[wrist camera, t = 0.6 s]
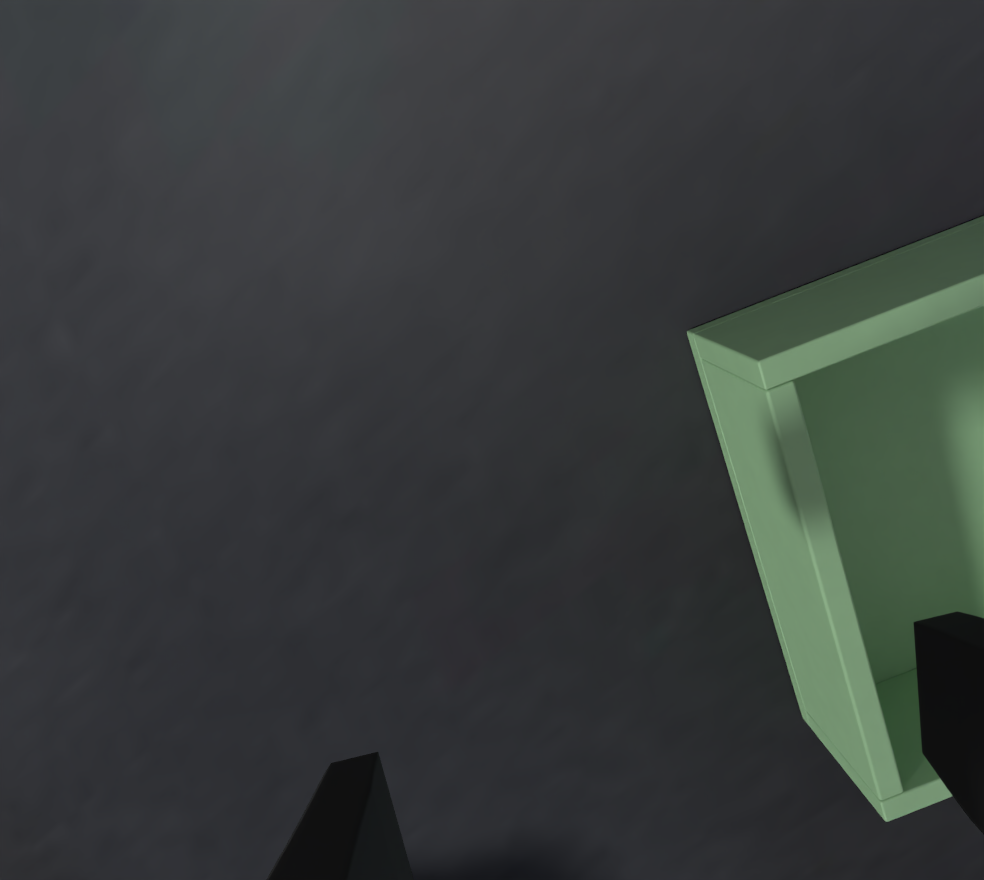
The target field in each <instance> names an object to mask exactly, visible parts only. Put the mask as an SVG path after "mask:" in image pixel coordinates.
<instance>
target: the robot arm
mask: <svg viewBox="0 0 984 880" xmlns="http://www.w3.org/2000/svg"><path fill="white" fill-rule="evenodd" d="M913 623H914V638H915V653H916V668H917V683H918V698H919V713H920V728H921V742H922V753H923V755H924V756H925V757H926V759H927V760H928V762H929V763H930V765H931V766H932V767H933V769H934V770H935V772H936V773H937V775H938V776H939V777H940V779H941V780H942V782H943V783H944V784H945V786H946V787H947V789H948V790H949V791H950V793H951V794H952V795H953V797H954V798H955V799H956V801H957V802H958V803H959V805H960V806H961V807H962V809H963V810H964V811H965V813H966V814H967V815H968V817H969V818H970V819H971V821H972V822H973V823H974V824H975V825H976V826H977V827H978V828H979V830H980V831H981V832H982V833H983V834H984V618H981V617H978V616H974V615H970V614H966V613H962V612H958V611H957V612H953V613H949V614H944V615H940V616H936V617H932V618H928V619H924V620H920V621H916V622H913ZM267 880H414V879H413V876H412V872H411V868H410V865H409V861H408V858H407V854H406V851H405V847H404V843H403V840H402V836H401V833H400V829H399V825H398V822H397V818H396V815H395V811H394V807H393V804H392V800H391V797H390V793H389V789H388V786H387V782H386V779H385V775H384V772H383V768H382V764H381V761H380V757H379V754H378V752H375V753H371V754H367V755H363V756H359V757H355V758H351V759H347V760H342V761H338V762H334V763H331V764H330V766H329V767H328V769H327V770H326V772H325V773H324V775H323V777H322V779H321V781H320V783H319V785H318V787H317V789H316V791H315V793H314V794H313V796H312V798H311V800H310V802H309V804H308V806H307V808H306V810H305V812H304V814H303V815H302V817H301V819H300V821H299V823H298V825H297V827H296V828H295V830H294V832H293V834H292V836H291V838H290V839H289V841H288V843H287V845H286V847H285V848H284V850H283V852H282V854H281V855H280V857H279V859H278V861H277V862H276V864H275V866H274V867H273V869H272V871H271V873H270V874H269V876H268V878H267Z"/></svg>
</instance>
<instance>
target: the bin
mask: <svg viewBox="0 0 984 880" xmlns="http://www.w3.org/2000/svg"><path fill="white" fill-rule="evenodd" d="M687 335H688V339H689V342H690V345H691V349H692V352H693V355H694V359H695V362H696V365H697V369H698V372H699V375H700V379H701V382H702V385H703V389H704V392H705V395H706V399H707V402H708V405H709V409H710V412H711V415H712V419H713V422H714V425H715V428H716V432H717V435H718V438H719V442H720V445H721V448H722V452H723V455H724V458H725V462H726V465H727V468H728V472H729V475H730V478H731V482H732V485H733V488H734V492H735V495H736V498H737V502H738V505H739V508H740V512H741V515H742V518H743V521H744V525H745V528H746V531H747V535H748V538H749V541H750V545H751V548H752V551H753V555H754V558H755V561H756V565H757V568H758V571H759V575H760V578H761V581H762V585H763V588H764V591H765V595H766V598H767V601H768V605H769V608H770V611H771V614H772V618H773V621H774V624H775V628H776V631H777V634H778V638H779V641H780V644H781V648H782V651H783V654H784V658H785V661H786V664H787V668H788V671H789V674H790V678H791V681H792V684H793V688H794V691H795V694H796V697H797V701H798V704H799V707H800V711H801V714H802V717H803V719H804V720H805V721H806V723H807V724H808V725H809V726H810V727H811V729H812V730H813V731H814V733H815V734H816V735H817V736H818V738H819V739H820V740H821V741H822V743H823V744H824V745H825V746H826V748H827V749H828V750H829V751H830V753H831V754H832V755H833V756H834V758H835V759H836V760H837V761H838V763H839V764H840V765H841V766H842V768H843V769H844V770H845V771H846V773H847V774H848V775H849V776H850V778H851V779H852V780H853V781H854V783H855V784H856V785H857V786H858V788H859V789H860V790H861V791H862V793H863V794H864V795H865V796H866V798H867V799H868V800H869V801H870V803H871V804H872V805H873V806H874V808H875V809H876V810H877V811H878V813H879V814H880V815H881V816H882V818H883V819H884V820H885V821H886V822H888V821H891V820H894V819H896V818H899V817H901V816H904V815H906V814H909V813H911V812H914V811H916V810H919V809H921V808H924V807H926V806H929V805H932V804H934V803H937V802H939V801H942V800H944V799H947V798H949V797H952V796H953V795H952V794H951V793H950V791H949V790H948V789H947V787H946V786H945V784H944V783H943V782H942V780H941V779H940V777H939V776H938V775H937V773H936V772H935V770H934V769H933V767H932V766H931V765H930V763H929V762H928V760H927V759H926V757H925V756H924V755H923V753H922V742H921V728H920V713H919V698H918V683H917V668H916V653H915V638H914V623H913V622H916V621H920V620H924V619H928V618H932V617H936V616H940V615H944V614H949V613H953V612H957V611H958V612H962V613H966V614H970V615H974V616H978V617H981V618H984V216H982V217H979V218H977V219H974V220H971V221H969V222H966V223H964V224H961V225H959V226H956V227H953V228H951V229H948V230H946V231H943V232H941V233H938V234H935V235H933V236H930V237H928V238H925V239H923V240H920V241H917V242H915V243H912V244H910V245H907V246H905V247H902V248H899V249H897V250H894V251H892V252H889V253H886V254H884V255H881V256H879V257H876V258H874V259H871V260H868V261H866V262H863V263H861V264H858V265H856V266H853V267H850V268H848V269H845V270H843V271H840V272H838V273H835V274H832V275H830V276H827V277H825V278H822V279H820V280H817V281H814V282H812V283H809V284H807V285H804V286H801V287H799V288H796V289H794V290H791V291H789V292H786V293H783V294H781V295H778V296H776V297H773V298H771V299H768V300H765V301H763V302H760V303H758V304H755V305H753V306H750V307H747V308H745V309H742V310H740V311H737V312H734V313H732V314H729V315H727V316H724V317H722V318H719V319H716V320H714V321H711V322H709V323H706V324H704V325H701V326H698V327H696V328H693V329H691V330H688V331H687Z"/></svg>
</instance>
